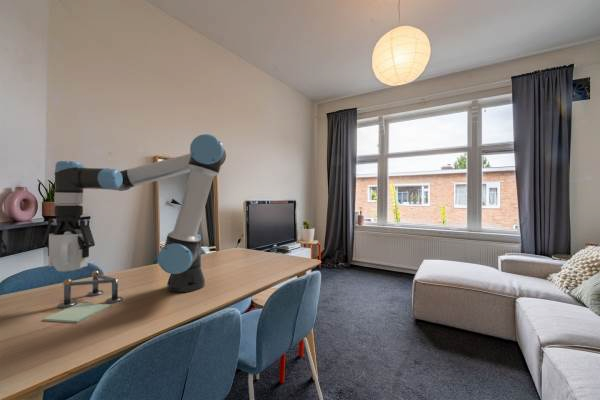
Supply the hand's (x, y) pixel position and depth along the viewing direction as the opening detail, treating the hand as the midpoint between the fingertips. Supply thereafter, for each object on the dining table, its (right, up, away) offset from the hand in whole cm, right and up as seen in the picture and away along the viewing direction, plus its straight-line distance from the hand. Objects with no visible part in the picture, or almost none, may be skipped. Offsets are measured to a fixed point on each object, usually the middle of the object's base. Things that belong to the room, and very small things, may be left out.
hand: (68, 266), depth 89 cm
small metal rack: (+7, -14, +5) cm, 16 cm away
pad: (+9, -14, -6) cm, 18 cm away
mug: (+1, -2, 0) cm, 2 cm away
